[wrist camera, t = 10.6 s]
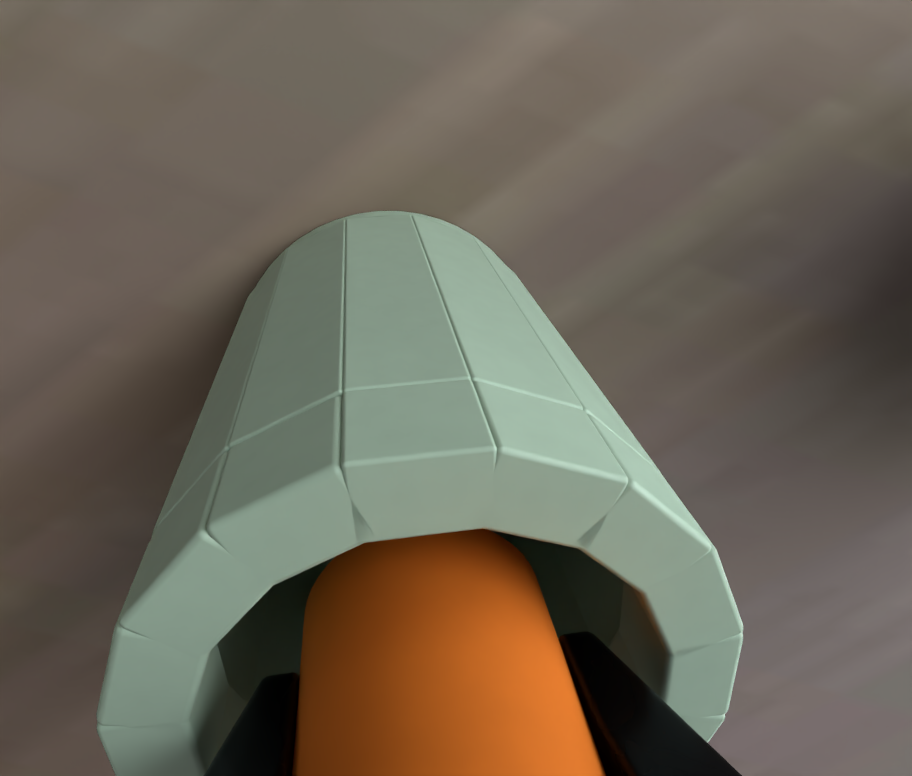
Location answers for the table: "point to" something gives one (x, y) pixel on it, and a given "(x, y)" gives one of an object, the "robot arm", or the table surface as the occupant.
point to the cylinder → (436, 666)
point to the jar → (399, 486)
